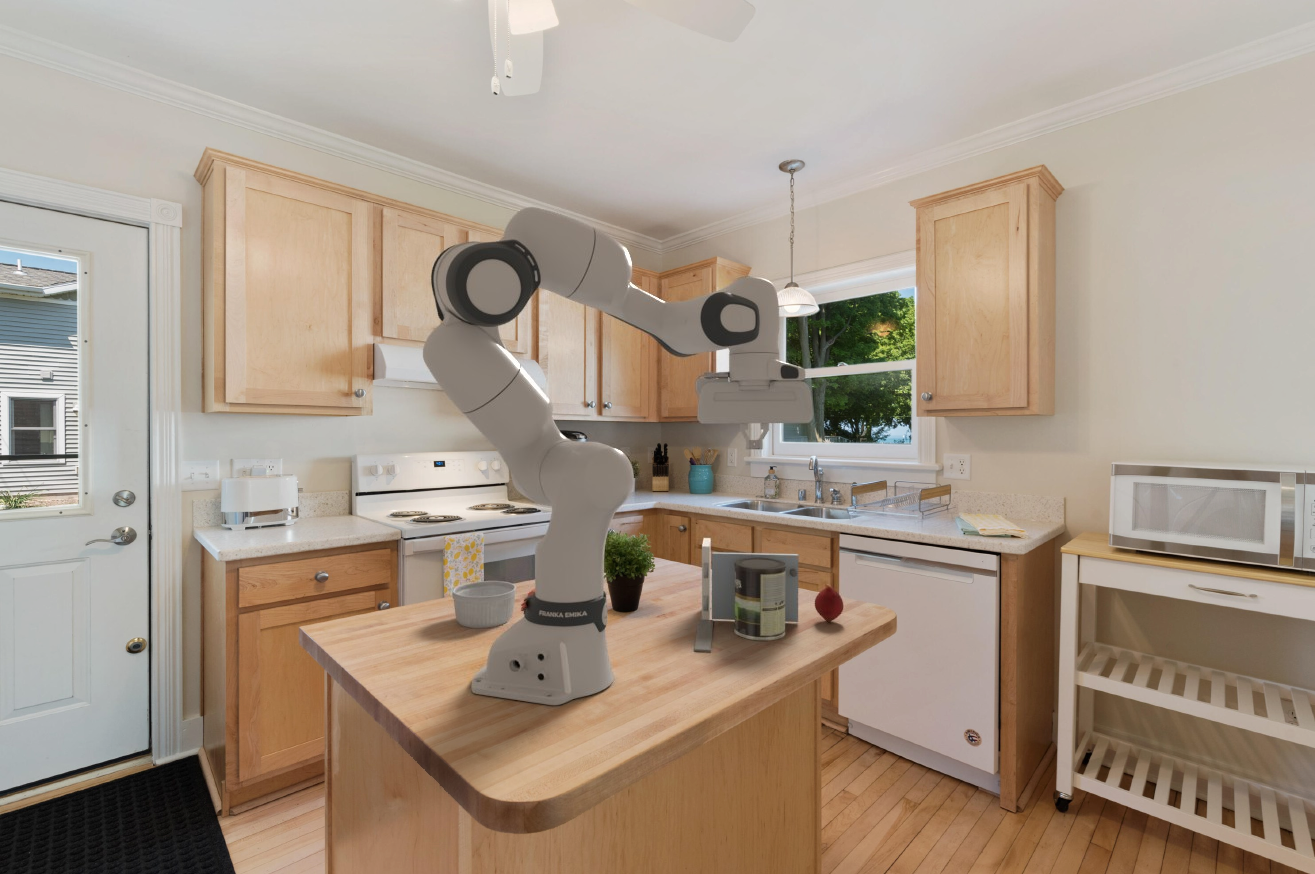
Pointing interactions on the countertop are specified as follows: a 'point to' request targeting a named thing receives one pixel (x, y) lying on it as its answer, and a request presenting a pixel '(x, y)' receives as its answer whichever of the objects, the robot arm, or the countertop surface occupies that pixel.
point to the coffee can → (760, 598)
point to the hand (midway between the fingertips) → (754, 449)
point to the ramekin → (484, 603)
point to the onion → (829, 603)
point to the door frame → (705, 602)
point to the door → (726, 583)
